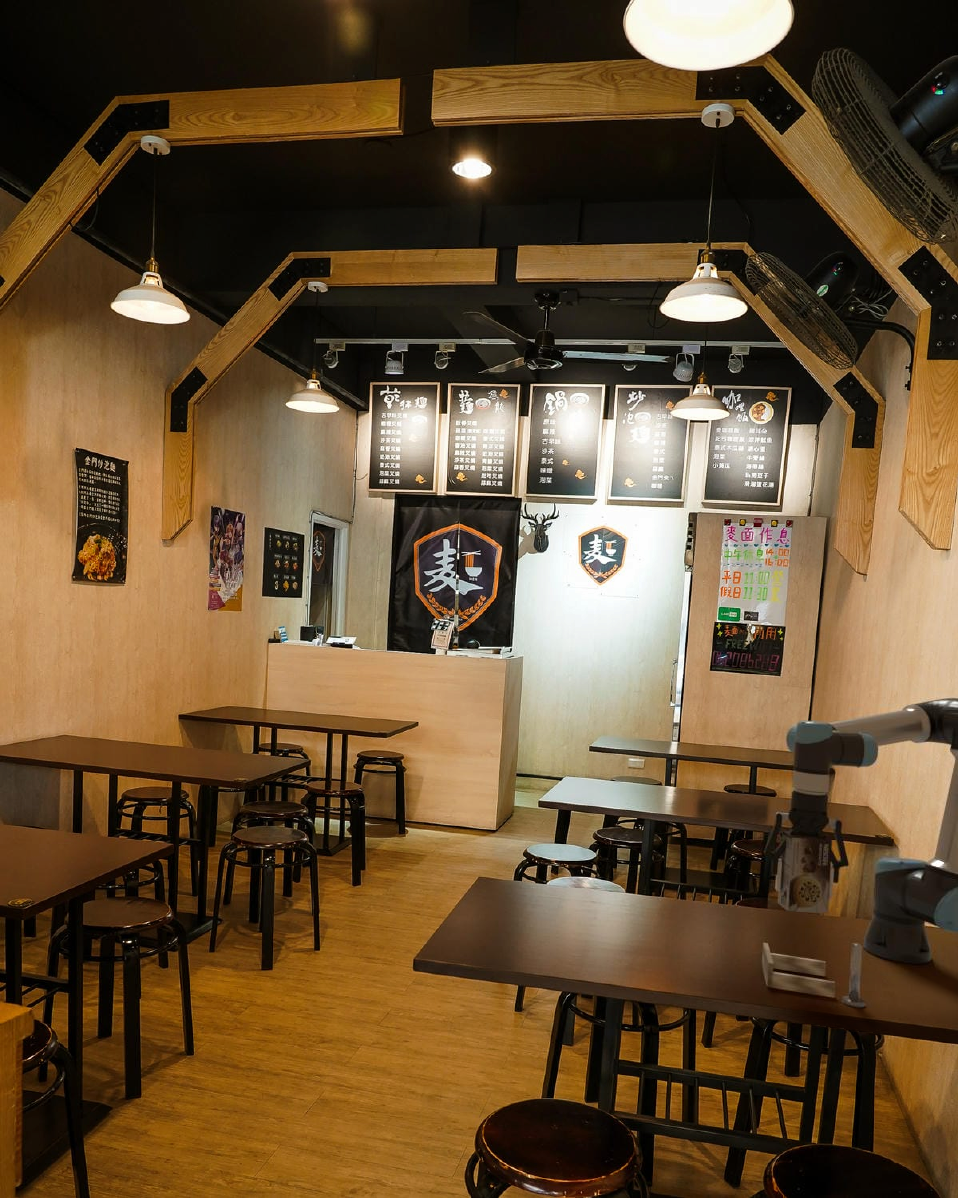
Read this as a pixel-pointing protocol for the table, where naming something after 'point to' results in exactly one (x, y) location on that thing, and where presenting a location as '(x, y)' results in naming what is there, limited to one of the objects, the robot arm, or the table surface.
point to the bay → (795, 981)
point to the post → (855, 978)
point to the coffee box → (805, 873)
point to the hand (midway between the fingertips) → (803, 893)
